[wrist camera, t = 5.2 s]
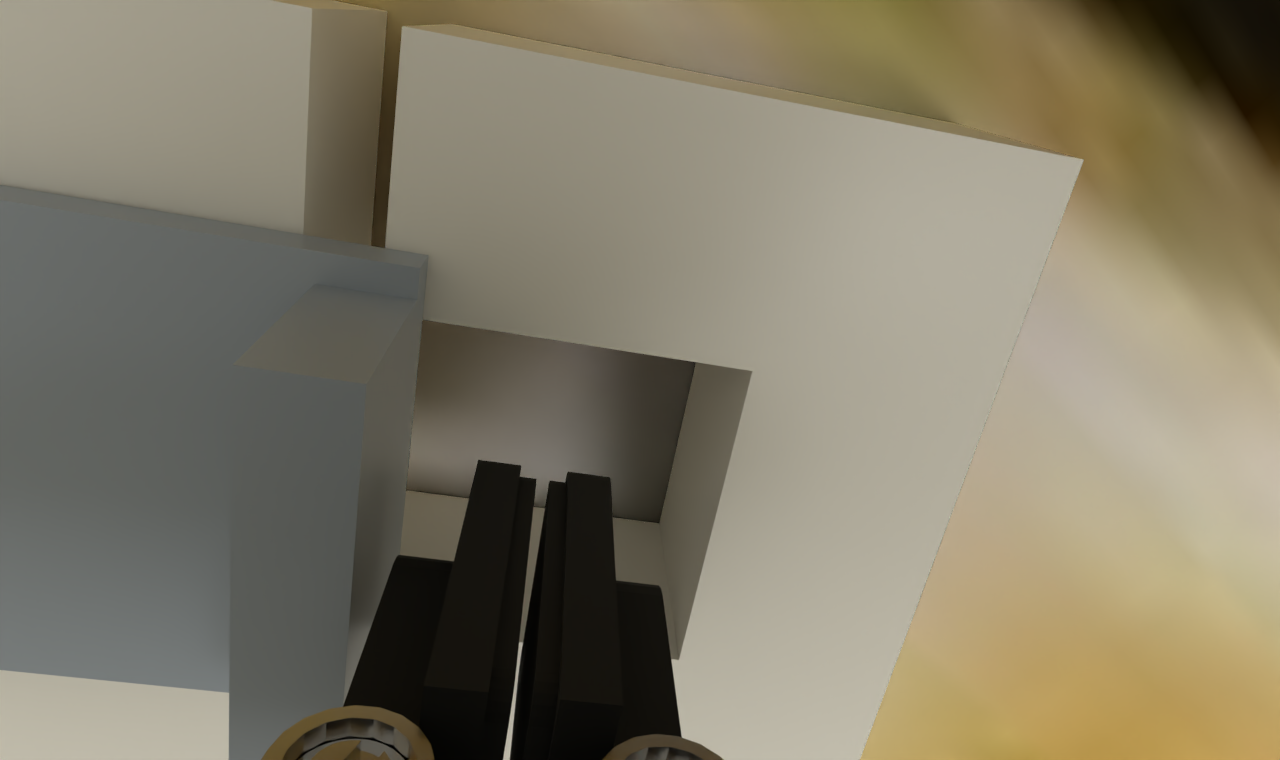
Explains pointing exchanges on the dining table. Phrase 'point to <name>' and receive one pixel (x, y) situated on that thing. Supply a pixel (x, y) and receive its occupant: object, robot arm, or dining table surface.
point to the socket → (595, 308)
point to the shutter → (199, 452)
